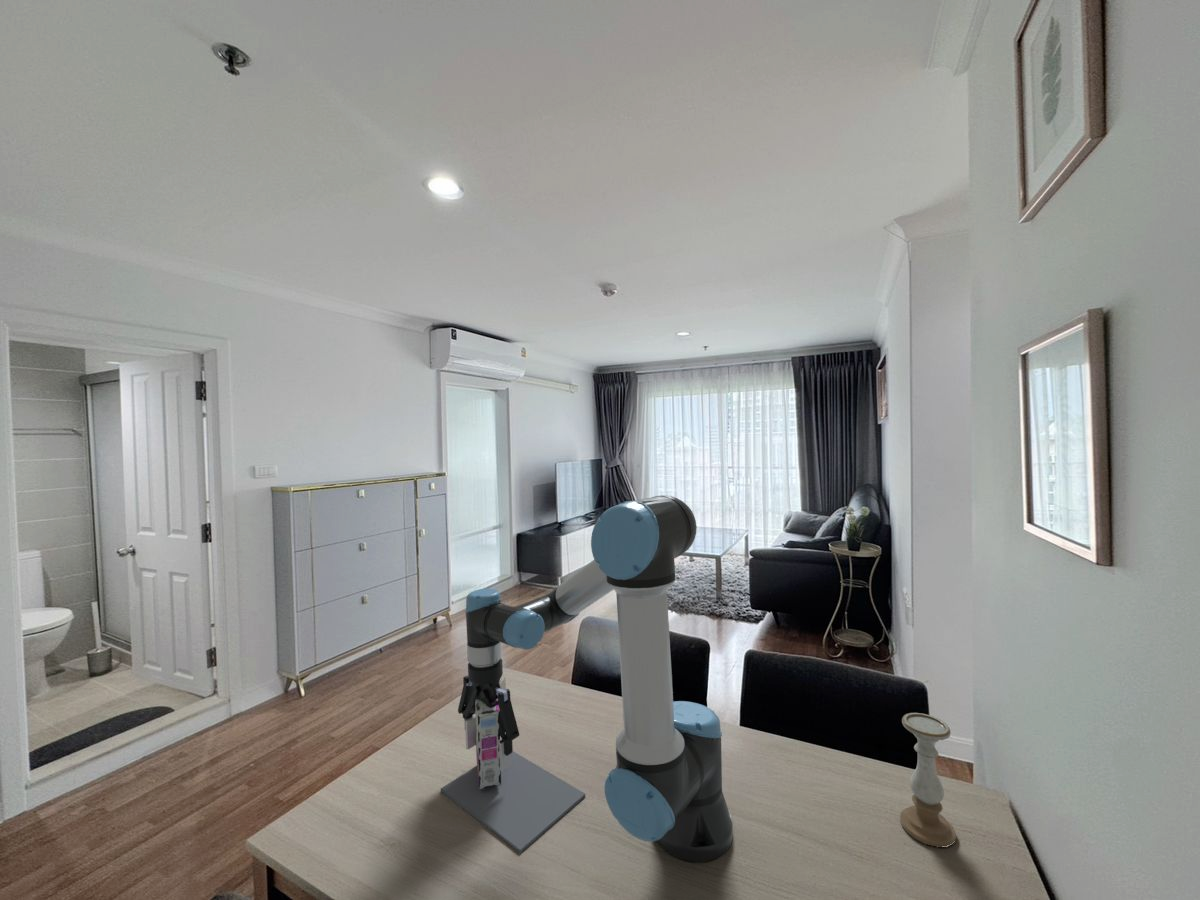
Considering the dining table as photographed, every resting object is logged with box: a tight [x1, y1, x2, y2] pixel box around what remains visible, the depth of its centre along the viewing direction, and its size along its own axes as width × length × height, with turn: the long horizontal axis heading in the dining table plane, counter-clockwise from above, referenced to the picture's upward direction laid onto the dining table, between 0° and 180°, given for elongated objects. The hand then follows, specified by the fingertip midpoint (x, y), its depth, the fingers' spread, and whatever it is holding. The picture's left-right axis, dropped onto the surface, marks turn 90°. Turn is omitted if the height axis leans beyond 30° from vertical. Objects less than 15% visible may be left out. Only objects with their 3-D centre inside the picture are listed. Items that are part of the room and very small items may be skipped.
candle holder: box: [899, 712, 957, 848], centre depth 92 cm, size 9×9×20 cm
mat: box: [440, 750, 586, 854], centre depth 105 cm, size 26×18×1 cm
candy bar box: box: [474, 697, 501, 790], centre depth 109 cm, size 11×5×16 cm, turn 17°
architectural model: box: [499, 676, 508, 690], centre depth 141 cm, size 3×7×7 cm, turn 166°
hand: (488, 756), depth 110 cm, fingers closed on candy bar box, 12 cm apart
